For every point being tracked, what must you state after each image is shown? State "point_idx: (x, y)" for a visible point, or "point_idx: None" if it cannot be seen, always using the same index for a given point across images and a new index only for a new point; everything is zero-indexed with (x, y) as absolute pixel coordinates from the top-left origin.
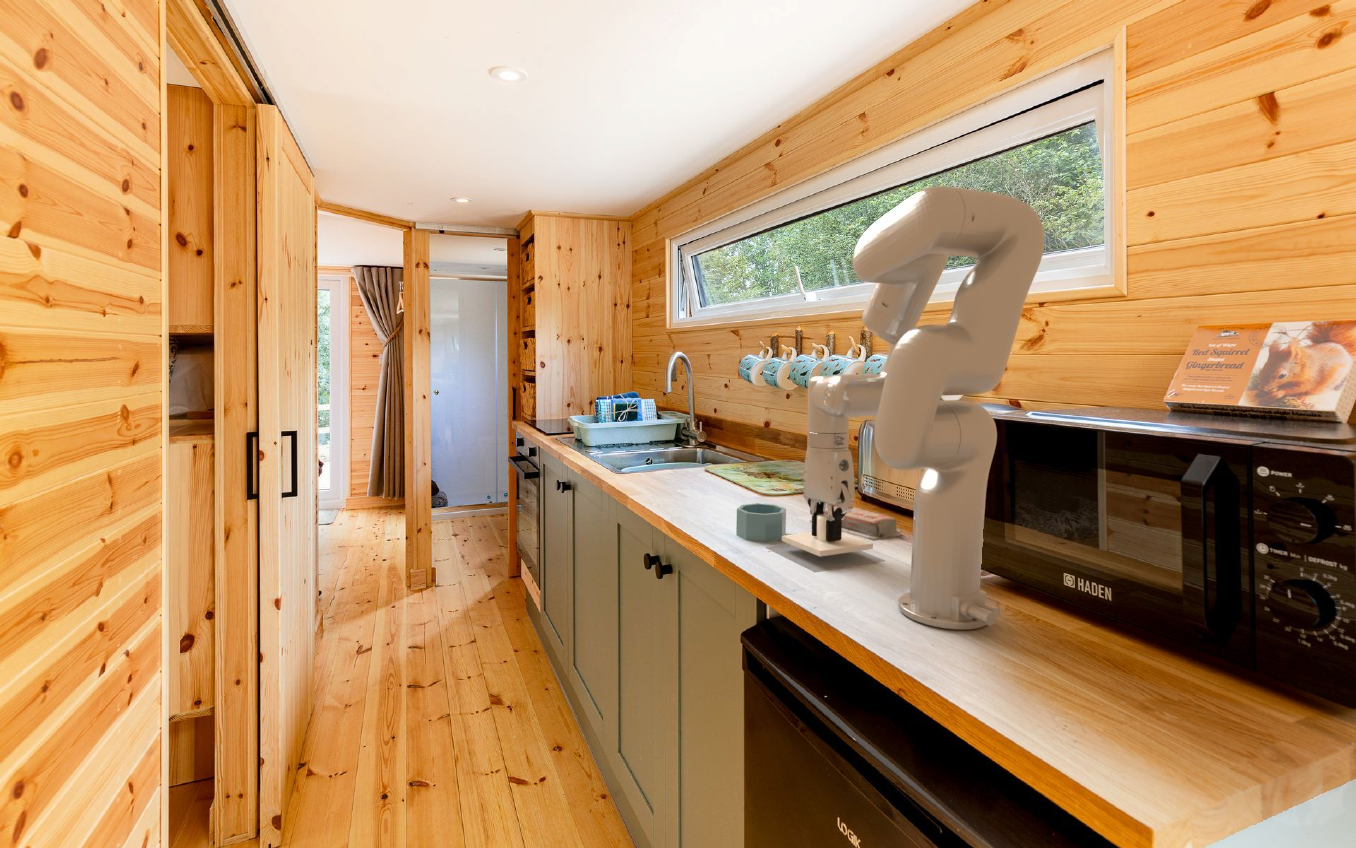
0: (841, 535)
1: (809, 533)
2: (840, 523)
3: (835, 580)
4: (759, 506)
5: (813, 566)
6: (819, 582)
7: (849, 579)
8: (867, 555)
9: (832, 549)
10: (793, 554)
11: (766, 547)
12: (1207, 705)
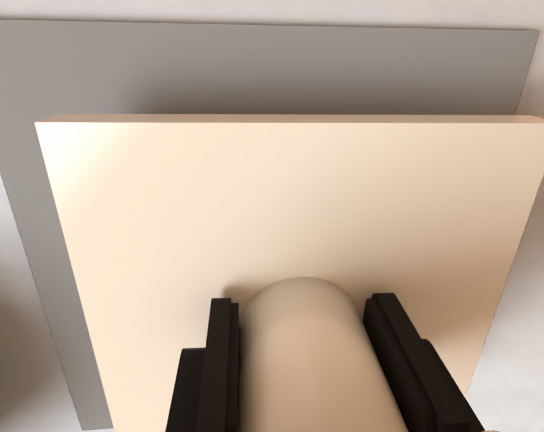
0: (401, 307)
1: (118, 336)
2: (476, 420)
3: (508, 367)
4: None
5: None
6: (485, 411)
7: (536, 326)
8: (409, 65)
9: (466, 393)
10: None
11: (86, 427)
12: None
